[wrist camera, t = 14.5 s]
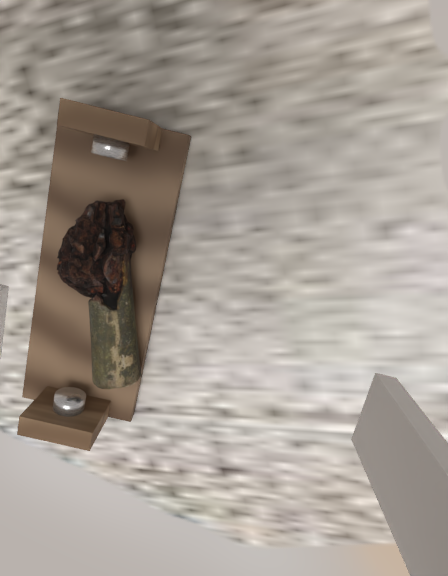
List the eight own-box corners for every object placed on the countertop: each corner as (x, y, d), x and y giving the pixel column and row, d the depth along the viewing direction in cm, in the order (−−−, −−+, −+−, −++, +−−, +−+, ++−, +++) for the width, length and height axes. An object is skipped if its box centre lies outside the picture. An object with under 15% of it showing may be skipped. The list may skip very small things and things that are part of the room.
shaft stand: (66, 105, 40) (28, 89, 33) (191, 136, 40) (180, 127, 33) (28, 390, 48) (-9, 428, 40) (133, 414, 48) (115, 456, 41)
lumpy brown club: (146, 369, 45) (132, 396, 39) (83, 368, 45) (61, 394, 40) (139, 199, 40) (122, 202, 35) (69, 198, 41) (42, 201, 35)
